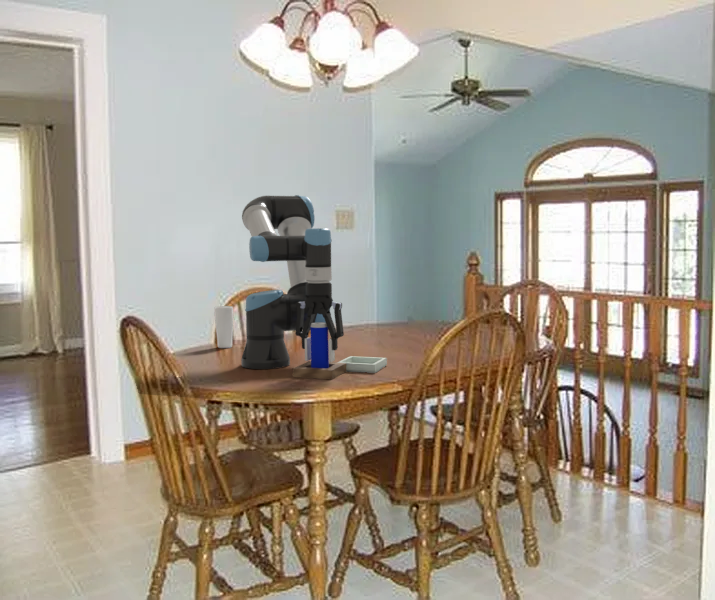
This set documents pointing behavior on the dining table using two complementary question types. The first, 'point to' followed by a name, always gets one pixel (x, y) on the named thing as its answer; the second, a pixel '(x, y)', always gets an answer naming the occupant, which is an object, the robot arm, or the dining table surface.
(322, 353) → the beverage can
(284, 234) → the robot arm
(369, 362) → the tray
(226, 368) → the dining table surface
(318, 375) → the socket block
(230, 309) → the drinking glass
